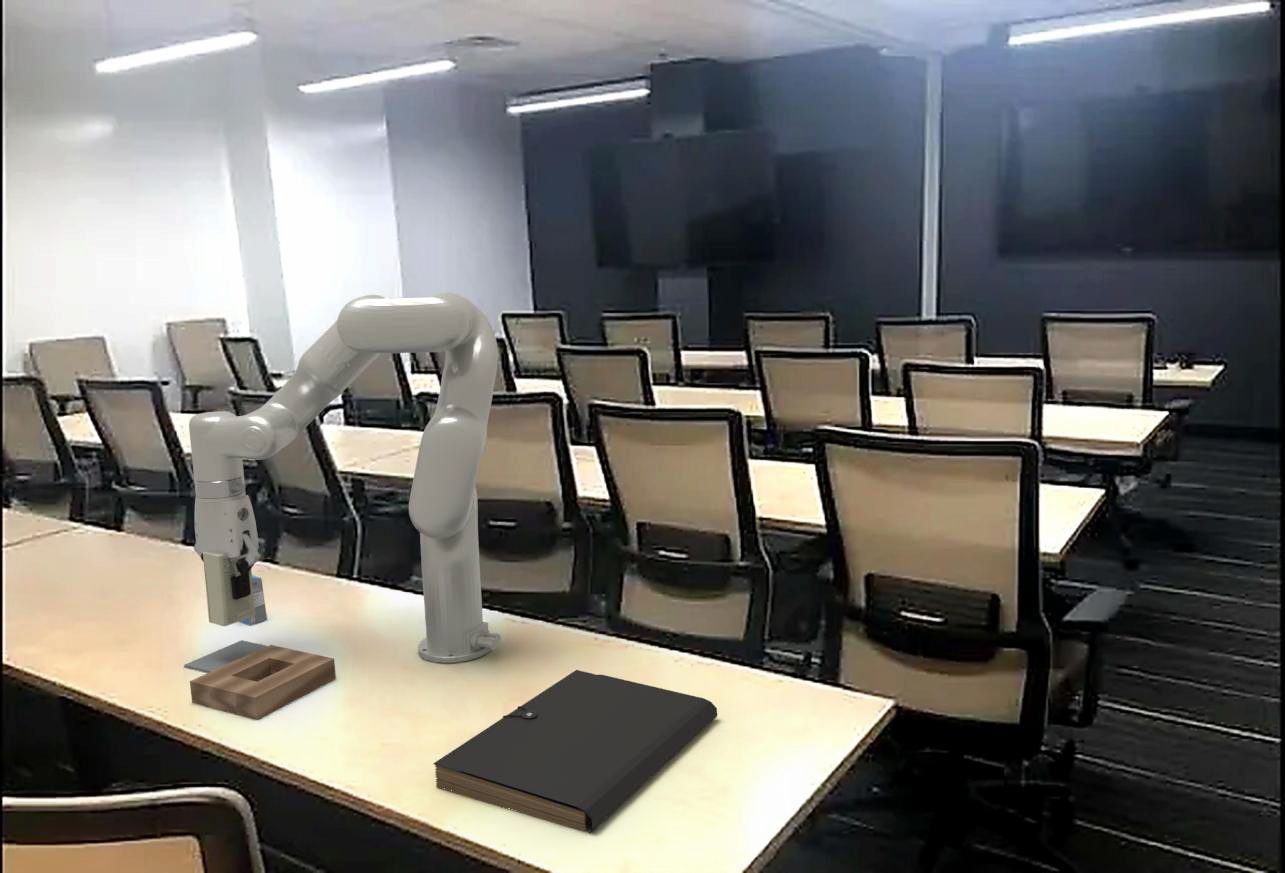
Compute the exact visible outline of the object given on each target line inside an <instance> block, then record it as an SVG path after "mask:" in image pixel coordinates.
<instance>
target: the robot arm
mask: <svg viewBox="0 0 1285 873" xmlns="http://www.w3.org/2000/svg"><path fill="white" fill-rule="evenodd" d="M337 316H338V317H337V319H336V321H335V322H334V323H333V324H332V325H331V326H330V327H329V328H328V329H327V330H326V331H325V332H324V333H323V334H322V335H321V336H320V337H319V338H318V339H317V340H316V341H315V342H314V343H313V344H312V345H311V346H309V348H308V349H306V350H305V352H304V353H302V355H301V357H300V358H299V361H298V364H297V368H296V370H295V371H294V373H293V374H292V376H290V378H289V379H288V380H287V381H286V382H285V383H284V385H282V387H280V389H279V390H277V391H276V393H275V394H273V396H272V397H271V398H269V399H268V400H267V401H266V402H265V403H264V404H263V405H262V406H261V407H260V408H257V409H256V410H254V411H252V412H250V413H247V414H244V415H240V416H239V415H236V414H235V413H232V412H230V411H207V412H202V413H197V414H196V415H193V416H192V417H191V418H190V419H189V422H188V429H189V430H188V431H189V442H190V452H191V458H192V459H191V461H192V469H193V470H192V472H193V479H194V487H195V488H194V489H195V490H194V491H195V498H194V499H195V500H194V501H195V502H194V533H195V534H194V535H195V543H194V546H193V550H194V551H195V553H196V554H197V555H198V556H199V557H200V560H202V562H203V563H204V560H203V552H212V553H218V554H223V555H225V557H226V558H229V560H230V563H231V567H232V571H233V574H234V576H231V584H232V595H233V599H235V600H238V599H240V598H243V597H246V596H248V595H250V593H251V591H250V580H249V572H251V571H252V568H253V567H254V566H255V564H256V563H257V562H258V561H259V560H260V559H261V555H260V553H259V537H258V531H257V524H256V522H257V521H256V517H255V514H254V509H253V505H252V502H251V498H250V496H249V494H246V489H247V487H246V483H245V475H244V472H245V471H244V463H243V461H244V460H254V461H260V460H266V459H269V458H271V457H273V456H275V455H276V454H277V453H278V452H279V451H281V450H283V449H284V448H285V447H287V446H288V445H290V443H292V442H293V441H294V440H295V439H296V438H297V437H298V436H299V435H300V434H301V433H302V432H303V431H304V430H305V429H306V428H307V427H308V425H310V424H311V422H313V421H314V420H315V419H316V418H317V417H318V416H319V415H320V413H322V412H323V411H324V410H325V409H326V408H327V406H329V404H331V403H332V402H333V401H335V400H336V399H337V398H338V397H339V396H341V394H342V393H343V392H344V391H345V390H346V389H347V388H348V387H349V386H350V385H351V384H352V383H353V382H354V381H355V380H356V379H357V378H358V377H359V375H361V374H363V372H364V371H365V370H366V369H367V368H368V367H369V366H370V365H371V364H372V363H373V362H374V361H375V360H376V359H377V358H378V357H379V356H380V355H381V354H406V353H407V354H409V353H411V354H412V353H413V354H414V353H437V352H438V353H440V352H441V353H442V352H445V358H444V359H445V360H444V367H443V371H442V376H441V379H440V381H441V382H440V388H439V392H438V393H439V394H438V399H437V403H436V407H435V411H434V414H433V416H432V418H431V419H430V420H429V421H428V423H427V424H426V426H425V428H424V430H423V433H422V436H421V439H420V442H419V447H418V448H419V449H418V453H417V458H416V464H415V468H414V472H413V480H412V485H411V488H410V489H411V490H410V494H409V500H408V501H409V502H408V515H409V518H410V520H411V522H412V525H413V526H414V528H415V529H416V530H417V531H418V532H419V538H420V542H419V543H420V556H421V560H420V561H421V577H422V589H423V592H422V593H423V603H424V605H423V606H424V619H425V632H426V633H425V635H426V637H425V638H423V639H422V640H421V641H420V642H419V643H418V646H417V651H418V654H419V656H420V657H421V658H422V659H424V660H427V661H430V662H432V663H433V662H434V663H443V664H446V663H447V664H451V663H460V662H461V663H462V662H467V661H471V660H475V659H478V658H481V657H482V656H484V655H487V654H488V653H489V652H490V651H492V650H493V651H495V650H497V649H498V647H499V642H500V641H501V637H502V636H501V634H500V633H496V632H490V630H489V622H486V621H484V620H483V618H484V617H483V604H482V603H483V601H482V600H483V599H482V587H481V586H482V585H481V584H482V583H481V570H480V569H481V568H480V567H481V566H480V550H479V549H480V548H479V547H480V546H479V527H478V525H479V523H478V522H479V520H478V518H479V517H478V516H479V514H478V512H479V509H478V508H479V506H478V494H477V493H478V491H477V488H476V482H477V478H478V472H479V467H480V463H481V458H482V453H483V451H484V448H485V445H486V442H487V437H488V433H487V432H488V424H489V417H490V412H491V406H492V401H493V396H494V395H493V394H494V388H495V383H496V378H497V370H498V361H499V360H498V358H499V354H498V353H499V351H498V343H497V338H496V334H495V330H494V329H493V326H492V325H491V323H490V320H489V319H488V317H487V316H486V315H485V313H484V312H482V310H481V309H480V308H479V307H478V306H477V305H476V304H474V303H473V302H472V301H471V300H469V299H468V298H466V297H465V296H463V295H461V294H457V293H453V292H441V293H438V294H435V295H433V296H418V297H415V296H414V297H388V298H386V297H384V296H382V295H377V294H367V295H363V296H359V297H356V298H354V299H351V300H350V301H349V302H347V303H346V304H345V305H344V306H343V308H341V310H340V311H339V314H338V315H337ZM240 551H241V554H240ZM239 559H241V561H242V563H241V564H240V565H239V564H238V561H237V560H239Z"/></svg>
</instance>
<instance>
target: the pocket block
mask: <svg viewBox="0 0 1285 873" xmlns="http://www.w3.org/2000/svg"><path fill="white" fill-rule="evenodd" d="M266 646H267V647H265V648H263V649H260V650H258V651H256V652H254V653H252V654H249V655H247V656H245V657H243V658H240V659H238V660H236V661H234V662H231V663H229V664H227V665H225V666H222V667H220V668H218V669H216V670H214V671H211V672H209V673H204V674H202V675H201V676H198V677H196V678H194V679H191V680H189V687H190V695H191V703H192V704H195V705H199V706H202V707H203V706H204V707H207V708H211V709H214V710H219V711H222V712H225V713H226V712H227V713H230V714H234V715H237V716H241V717H245V718H249V719H253V720H256V721H258V720H259V719H262V718H264V717H265V716H267V715H269V714H271V713H273V712H275V711H277V710H279V709H282V708H283V707H285V706H287V705H289V704H291V703H292V702H294V701H296V700H298V699H300V698H302V697H304V696H306V695H308V694H310V693H311V692H314V691H316V690H317V689H320V688H322V687H323V686H325V685H328V684H329V683H332V682H333V681H335V680H336V679H337V676H336V665H335V658H334V657H333V658H332V657H329V656H326V655H325V656H324V655H320V654H315V653H310V652H306V651H301V650H296V649H292V648H287V647H282V646H277V645H274V644H270V645H266Z"/></svg>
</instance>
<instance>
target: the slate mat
mask: <svg viewBox="0 0 1285 873" xmlns="http://www.w3.org/2000/svg"><path fill="white" fill-rule="evenodd" d="M267 646H268V645H266V644H262V643H261V644H260V643H256V642H252V641H247V640H238V641H236V642H234V643H232V644H230V645H228V646H227V645H226V646H224V647H222V648H221V649H218V650H215V651H213V652H211V653H208V654H206V655H204V656H202V657H199V658H197V659H195V660H192V661H190V662H188V663H185V664H183V668H185V669H189V668H190V669H189V670H193V669H194V671H197V670H198V671H199V672H201V673H202V672H203V673H205V674H207V673H209V672H211V671H214V670H216V669H218V668H220V667H222V666H225V665H227V664H229V663H231V662H234V661H236V660H238V659H240V658H243V657H245V656H247V655H249V654H252V653H254V652H256V651H258V650H260V649H263V648H265V647H267ZM198 671H197V672H198Z"/></svg>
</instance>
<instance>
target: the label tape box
mask: <svg viewBox="0 0 1285 873" xmlns="http://www.w3.org/2000/svg"><path fill="white" fill-rule="evenodd" d="M252 583H253V596H254V607H255V616H253V617H251V618H248V619H246V620H242V621H239V622H241V623H243V624H245V625H248V626H253V625H257V624H260V623H263V622H265V621H268V615H267V610H266V602H265V594H264V587H263V579H262V577H260V576H257V575H255V574H252Z"/></svg>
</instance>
